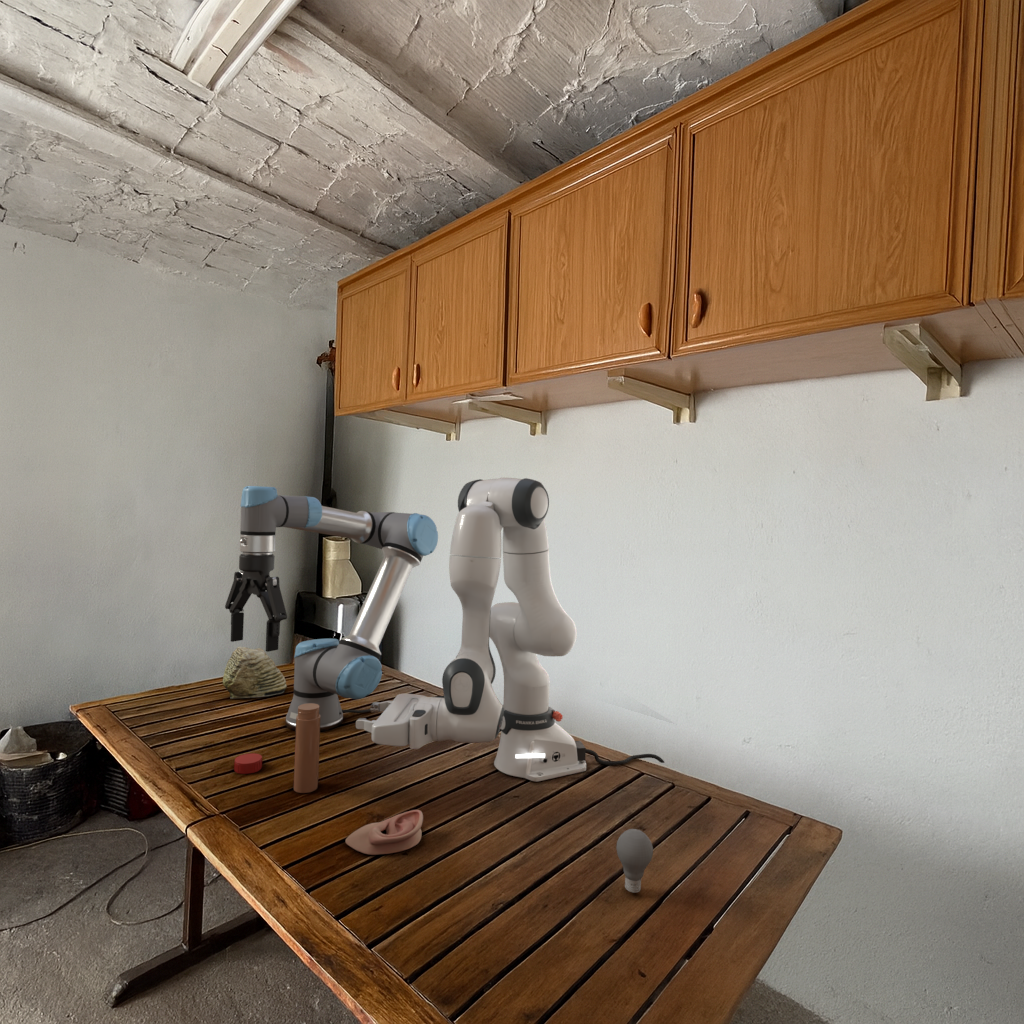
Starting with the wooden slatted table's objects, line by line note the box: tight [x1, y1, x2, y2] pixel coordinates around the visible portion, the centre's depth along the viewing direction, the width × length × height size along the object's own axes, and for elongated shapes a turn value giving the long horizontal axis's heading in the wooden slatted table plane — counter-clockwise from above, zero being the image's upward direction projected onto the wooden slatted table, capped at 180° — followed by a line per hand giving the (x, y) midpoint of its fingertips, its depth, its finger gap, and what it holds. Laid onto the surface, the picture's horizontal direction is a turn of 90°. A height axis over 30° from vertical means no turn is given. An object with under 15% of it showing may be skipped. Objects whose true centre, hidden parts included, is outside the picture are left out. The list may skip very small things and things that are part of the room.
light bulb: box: [615, 828, 654, 894], centre depth 106 cm, size 6×6×10 cm
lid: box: [233, 752, 263, 775], centre depth 146 cm, size 6×6×2 cm
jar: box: [293, 703, 321, 794], centre depth 137 cm, size 5×5×18 cm
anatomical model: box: [344, 809, 424, 856], centre depth 118 cm, size 13×4×12 cm
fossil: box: [222, 646, 288, 699], centre depth 198 cm, size 9×18×15 cm, turn 132°
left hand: (253, 645), depth 146 cm, fingers open, 13 cm apart
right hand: (364, 715), depth 136 cm, fingers open, 8 cm apart
